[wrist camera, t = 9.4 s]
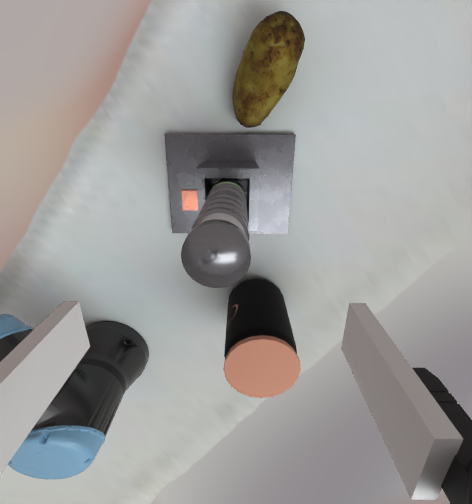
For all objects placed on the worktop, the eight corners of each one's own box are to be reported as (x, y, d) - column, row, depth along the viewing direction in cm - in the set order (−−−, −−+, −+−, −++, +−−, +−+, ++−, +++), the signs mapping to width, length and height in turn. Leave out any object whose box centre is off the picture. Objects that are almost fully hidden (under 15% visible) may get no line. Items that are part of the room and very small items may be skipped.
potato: (210, 93, 43) (204, 85, 35) (273, 14, 39) (280, -13, 32) (250, 134, 45) (252, 135, 38) (313, 64, 41) (329, 49, 34)
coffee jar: (227, 275, 54) (222, 339, 38) (284, 275, 54) (303, 339, 38) (229, 322, 59) (224, 398, 42) (281, 322, 58) (298, 398, 42)
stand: (173, 231, 51) (156, 256, 41) (166, 133, 45) (143, 134, 35) (286, 232, 51) (298, 258, 41) (294, 134, 45) (310, 135, 34)
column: (211, 211, 42) (183, 287, 22) (210, 176, 40) (178, 223, 20) (245, 212, 42) (249, 288, 22) (246, 177, 40) (251, 224, 20)
